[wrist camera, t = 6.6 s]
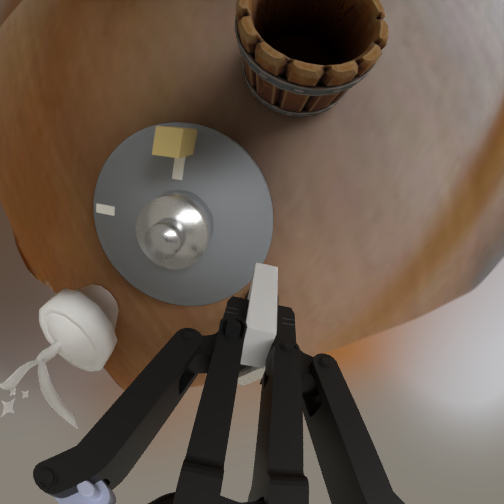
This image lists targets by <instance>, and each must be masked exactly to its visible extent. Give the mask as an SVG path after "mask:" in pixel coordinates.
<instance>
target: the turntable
mask: <svg viewBox="0 0 504 504" xmlns="http://www.w3.org/2000/svg"><path fill="white" fill-rule="evenodd" d="M171 190H185V191H188V192H191V193H193V194H195V195H197V196H198V197H200V198H201V199H202V200H203V201H204V202H205V203H206V205H207V206H208V208H209V209H210V211H211V214H212V217H213V222H214V231H213V235H212V238H211V240H210V242H209V244H208V246H207V247H206V249H205V251H204V252H203V254H202V256H201V257H200V258H199V260H198V261H197V262H195V263H194V264H193V265H191V266H189V267H186V268H183V269H168V268H165V267H162V266H160V265H157V264H156V263H154V262H153V261H152V260H150V259H149V258H148V257H147V256H146V255H145V253H144V252H143V251H142V249H141V247H140V245H139V243H138V240H137V236H136V221H137V217H138V215H139V213H140V211H141V210H142V208H143V207H144V206H145V205H146V204H147V203H149V202H150V201H152V200H153V199H155V198H157V197H158V196H160V195H162V194H164V193H166V192H168V191H171ZM93 208H94V221H95V226H96V231H97V234H98V238H99V240H100V243H101V245H102V248H103V250H104V252H105V253H106V255H107V257H108V259H109V260H110V262H111V263H112V265H113V266H114V267H115V269H116V270H117V271H118V272H119V273H120V274H121V276H122V277H124V278H125V279H126V280H127V281H128V282H129V283H130V284H131V285H133V286H134V287H135V288H137V289H138V290H140V291H141V292H143V293H145V294H146V295H148V296H151V297H153V298H155V299H157V300H160V301H163V302H166V303H170V304H175V305H183V306H200V305H206V304H211V303H215V302H218V301H221V300H223V299H225V298H228V297H230V296H231V295H233V294H235V293H236V292H238V291H239V290H241V289H242V288H243V287H244V286H246V285H247V284H248V283H249V282H250V281H251V280H252V278H253V273H254V269H255V265H256V262H257V263H261V264H263V262H264V260H265V258H266V256H267V253H268V250H269V247H270V244H271V238H272V232H273V206H272V199H271V195H270V191H269V187H268V185H267V182H266V180H265V177H264V175H263V173H262V172H261V170H260V168H259V166H258V165H257V163H256V162H255V161H254V159H253V158H252V157H251V155H250V154H249V153H248V152H247V151H246V150H245V149H244V148H243V147H242V146H241V145H240V144H238V143H237V142H236V141H234V140H233V139H232V138H230V137H229V136H227V135H225V134H223V133H221V132H219V131H218V130H215V129H212V128H209V127H207V126H203V125H198V124H193V123H180V122H171V123H162V124H157V125H154V126H150V127H147V128H145V129H142V130H140V131H138V132H136V133H135V134H133V135H131V136H130V137H128V138H127V139H126V140H124V141H123V142H122V143H121V144H120V145H119V146H118V147H117V148H116V149H115V150H114V151H113V152H112V154H111V155H110V156H109V158H108V159H107V161H106V162H105V164H104V166H103V168H102V170H101V172H100V175H99V178H98V181H97V184H96V188H95V194H94V205H93Z"/></svg>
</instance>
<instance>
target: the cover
mask: <svg viewBox="0 0 504 504" xmlns="http://www.w3.org/2000/svg"><path fill="white" fill-rule="evenodd" d="M213 231H214V222H213V217H212V214H211V211H210V209H209V208H208V206H207V205H206V203H205V202H204V201H203V200H202V199H201V198H200V197H198V196H197V195H195V194H193V193H191V192H188V191H185V190H171V191H168V192H166V193H164V194H162V195H160V196H158V197H157V198H155V199H153V200H152V201H150V202H149V203H147V204H146V205H145V206H144V207H143V208H142V210H141V211H140V213H139V215H138V217H137V221H136V236H137V240H138V243H139V245H140V247H141V249H142V251H143V252H144V253H145V255H146V256H147V257H148V258H149V259H150V260H152V261H153V262H154V263H156V264H157V265H160V266H162V267H165V268H168V269H183V268H186V267H189V266H191V265H193V264H194V263H195V262H197V261H198V260H199V258H200V257H201V256H202V254H203V252H204V251H205V249H206V247H207V246H208V244H209V242H210V240H211V238H212V235H213Z"/></svg>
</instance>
